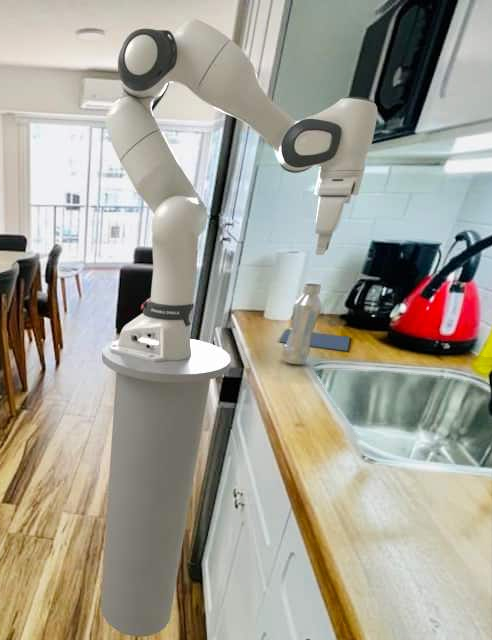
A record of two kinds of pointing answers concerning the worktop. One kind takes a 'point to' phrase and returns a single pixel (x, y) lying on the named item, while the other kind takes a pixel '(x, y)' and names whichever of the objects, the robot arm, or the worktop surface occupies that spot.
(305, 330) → the plastic bottle
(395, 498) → the worktop surface
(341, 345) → the cloth
